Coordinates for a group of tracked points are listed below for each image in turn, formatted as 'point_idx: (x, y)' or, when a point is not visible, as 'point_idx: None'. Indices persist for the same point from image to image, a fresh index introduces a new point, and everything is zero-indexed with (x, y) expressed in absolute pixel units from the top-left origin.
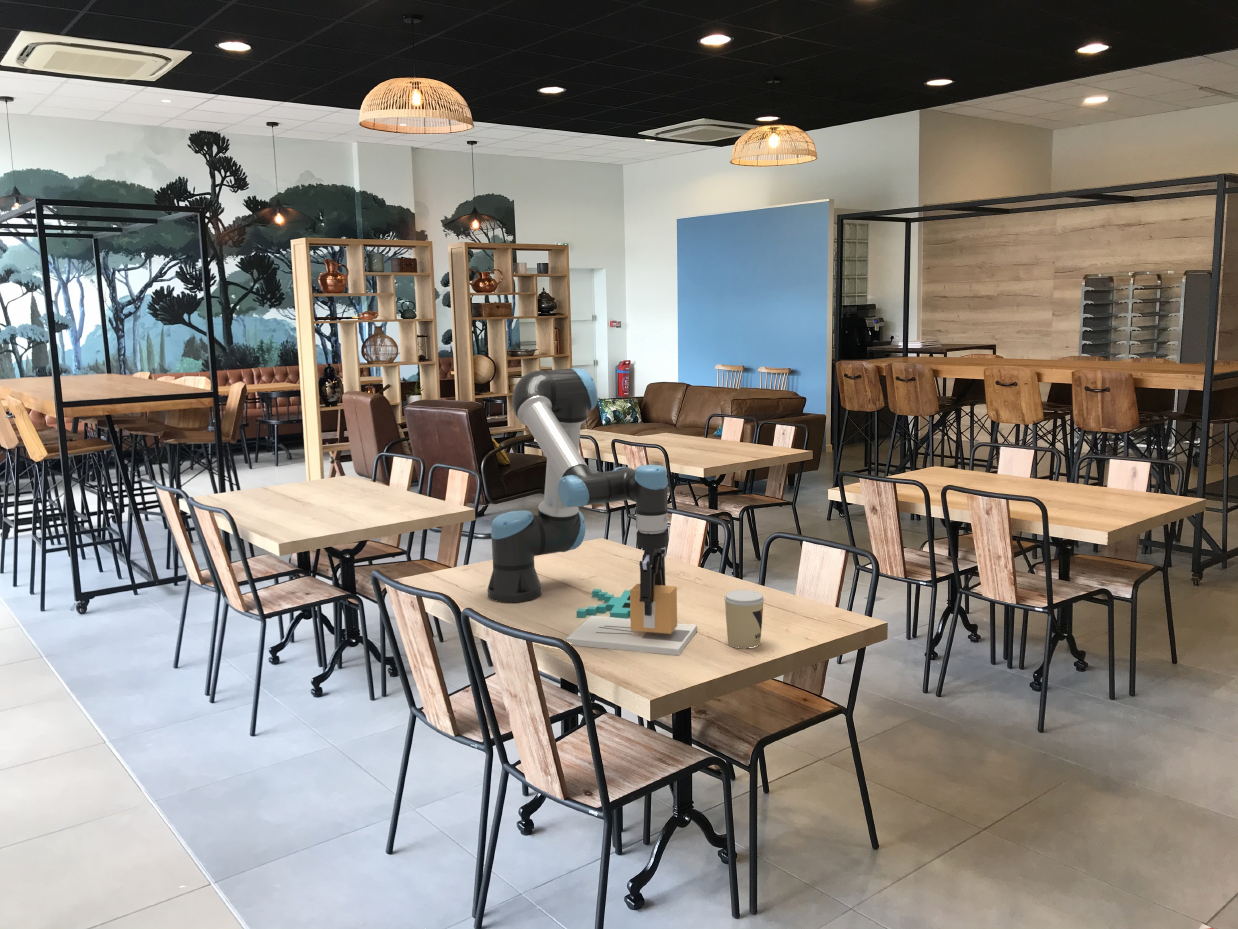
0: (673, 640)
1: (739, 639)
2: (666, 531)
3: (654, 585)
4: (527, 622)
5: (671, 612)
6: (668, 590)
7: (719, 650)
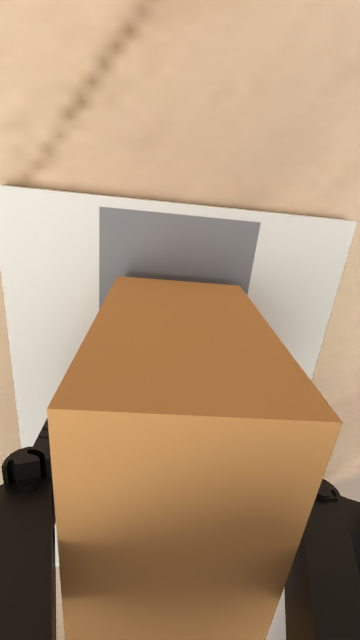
0: (247, 264)
1: None
2: None
3: (317, 622)
4: None
5: (243, 324)
6: (235, 454)
7: (269, 10)
